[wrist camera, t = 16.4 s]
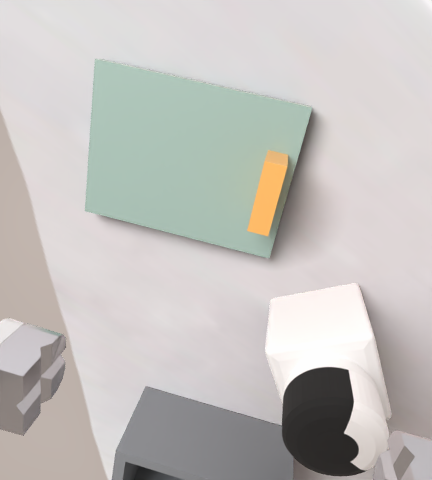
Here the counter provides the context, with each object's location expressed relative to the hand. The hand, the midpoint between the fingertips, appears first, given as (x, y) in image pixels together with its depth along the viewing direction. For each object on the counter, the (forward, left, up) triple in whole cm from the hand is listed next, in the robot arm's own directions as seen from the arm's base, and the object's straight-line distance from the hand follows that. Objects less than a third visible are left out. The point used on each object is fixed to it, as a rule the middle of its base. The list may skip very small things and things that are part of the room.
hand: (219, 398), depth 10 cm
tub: (-1, +32, -24) cm, 40 cm away
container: (-8, +13, -25) cm, 29 cm away
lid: (+6, +1, -24) cm, 25 cm away
